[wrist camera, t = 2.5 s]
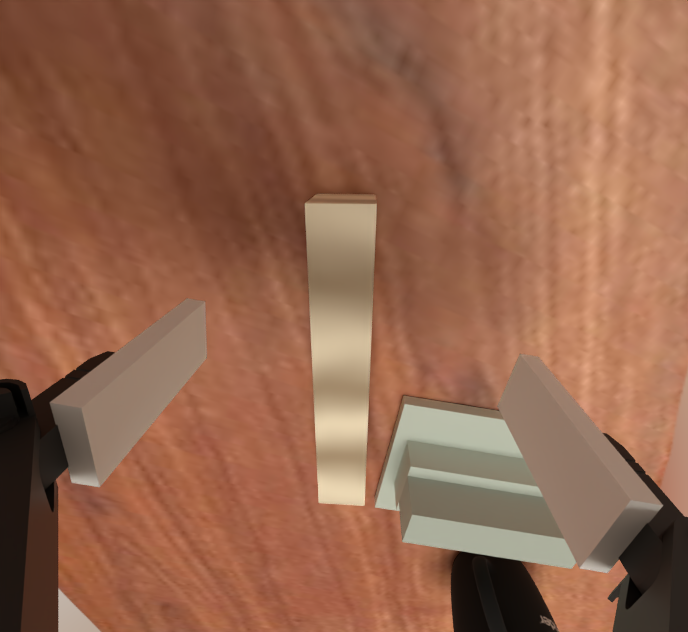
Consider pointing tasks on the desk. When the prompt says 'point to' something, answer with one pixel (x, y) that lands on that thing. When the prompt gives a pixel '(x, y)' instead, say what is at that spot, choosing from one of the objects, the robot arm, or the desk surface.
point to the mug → (496, 596)
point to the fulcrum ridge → (466, 485)
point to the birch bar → (341, 337)
